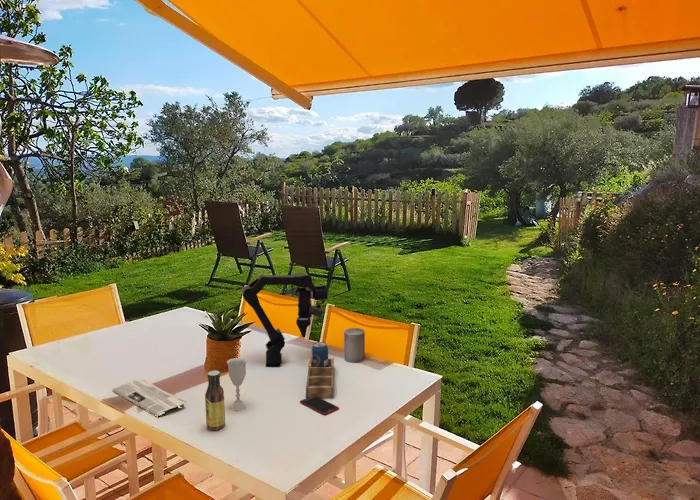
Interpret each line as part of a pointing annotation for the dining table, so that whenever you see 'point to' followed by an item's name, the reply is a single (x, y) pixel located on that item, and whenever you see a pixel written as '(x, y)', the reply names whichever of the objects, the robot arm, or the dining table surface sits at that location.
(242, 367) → the chalice
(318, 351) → the soda can
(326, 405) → the cell phone
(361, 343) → the pillar candle
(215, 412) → the sauce bottle
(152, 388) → the newspaper
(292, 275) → the robot arm
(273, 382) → the dining table surface
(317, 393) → the rack
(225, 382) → the dining table surface
